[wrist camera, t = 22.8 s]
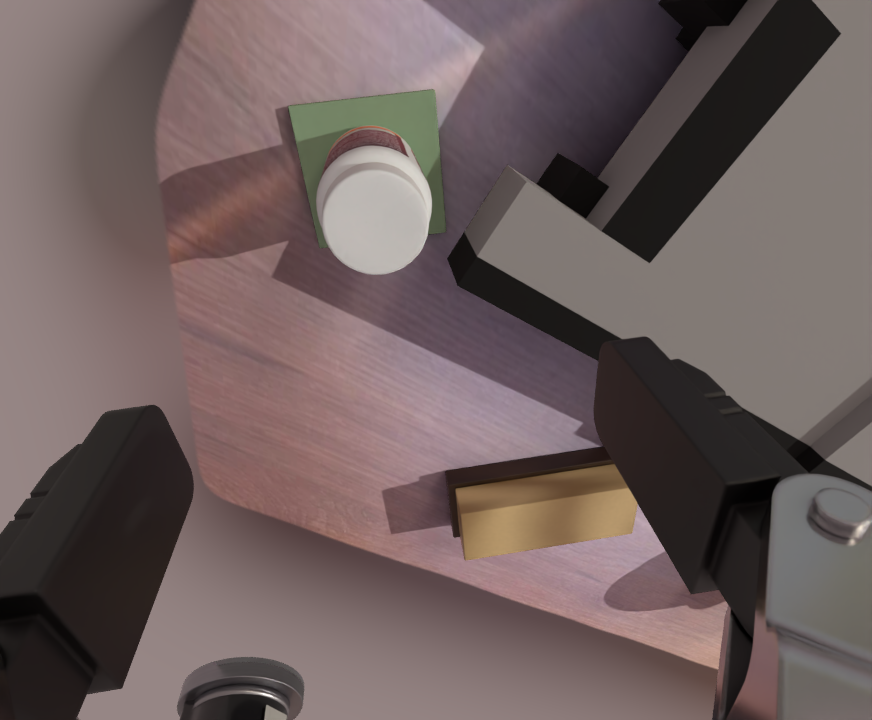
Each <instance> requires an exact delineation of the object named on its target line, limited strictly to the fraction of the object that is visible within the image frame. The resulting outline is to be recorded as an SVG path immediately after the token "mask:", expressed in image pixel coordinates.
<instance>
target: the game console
mask: <svg viewBox="0 0 872 720" xmlns="http://www.w3.org/2000/svg"><path fill="white" fill-rule="evenodd" d="M658 4H659V5H660V6H661V7H662V8H664V9H665V10H666V11H667V12H668V13H669V14H670V15H671V16H672V17H673V18H674V19H675V20H676V21H677V22H678V23H679V24H680V25H681V26H683V29H682V30H681V31H680V33H679V34H678V36H677V37H676V40H677V41H678V42H679V43H680V44H682V45H683V46H684V47H685V48H686V49H687V50H688V51H689V52H688V54H687V55H686V57H685V58H684V59H683V61H682V62H681V63H680V65H679V66H678V68H677V69H676V70H675V72H674V73H673V74H672V76H671V77H670V79H669V80H668V81H667V83H666V84H665V85H664V87H663V88H662V90H661V91H660V92H659V94H658V95H657V97H656V98H655V99H654V101H653V102H652V103H651V105H650V106H649V108H648V109H647V110H646V112H645V113H644V114H643V116H642V117H641V119H640V120H639V121H638V123H637V124H636V126H635V127H634V128H633V130H632V131H631V132H630V134H629V135H628V137H627V138H626V139H625V141H624V142H623V143H622V145H621V146H620V148H619V149H618V150H617V152H616V153H615V154H614V156H613V157H612V159H611V160H610V161H609V163H608V164H607V166H606V167H605V168H604V170H603V171H602V172H601V174H600V175H599V177H598V178H596V177H595V176H594V175H592V174H591V173H589V172H588V171H587V170H585V169H584V168H582V167H581V166H579V165H577V164H576V163H574V162H572V161H571V160H569V159H567V158H566V157H564V156H562V155H560V154H559V153H557V155H556V156H555V158H554V159H553V161H552V162H551V164H550V165H549V167H548V168H547V170H546V171H545V172H544V174H543V175H542V177H541V178H540V180H539V181H538V183H537V184H535V183H534V182H532V181H531V180H530V179H528V178H527V177H525V176H524V175H522V174H521V173H519V172H518V171H516V170H515V169H513V168H512V167H510V166H509V165H507V166H506V167H505V169H504V171H503V172H502V174H501V175H500V177H499V178H498V180H497V182H496V183H495V185H494V186H493V188H492V189H491V191H490V193H489V194H488V196H487V197H486V199H485V200H484V202H483V203H482V205H481V207H480V208H479V210H478V211H477V213H476V214H475V216H474V218H473V219H472V221H471V222H470V224H469V225H468V227H467V229H466V230H465V232H464V233H463V235H462V236H461V238H460V240H459V241H458V243H457V244H456V246H455V247H454V249H453V251H452V252H451V254H450V255H449V257H448V258H447V259H448V262H449V264H450V267H451V270H452V272H453V275H454V277H455V280H456V283H457V285H458V286H459V287H461V288H463V289H465V290H467V291H468V292H470V293H472V294H474V295H476V296H478V297H480V298H482V299H483V300H485V301H487V302H489V303H491V304H493V305H495V306H496V307H498V308H500V309H502V310H504V311H506V312H508V313H510V314H511V315H513V316H515V317H517V318H519V319H521V320H523V321H525V322H526V323H528V324H530V325H532V326H534V327H536V328H538V329H540V330H541V331H543V332H545V333H547V334H549V335H551V336H553V337H554V338H556V339H558V340H560V341H562V342H564V343H566V344H568V345H569V346H571V347H573V348H575V349H577V350H579V351H581V352H583V353H584V354H586V355H588V356H590V357H592V358H594V359H596V360H598V361H599V352H600V348H601V346H602V344H603V343H604V342H607V341H614V340H621V339H628V338H635V337H643V336H646V337H648V338H650V339H651V340H652V341H653V342H654V343H655V344H656V345H657V346H658V347H659V348H660V349H661V350H662V351H663V352H664V353H665V354H666V356H667V357H668V358H669V359H670V360H673V359H681V360H682V361H684V362H686V363H688V364H690V365H692V366H694V367H696V368H698V369H700V370H702V371H704V372H705V373H707V374H708V375H709V376H710V377H711V378H712V379H713V380H714V381H715V382H716V383H717V384H718V385H719V386H720V387H721V388H722V389H723V390H724V391H725V392H726V396H731V397H732V398H733V399H734V400H735V401H736V402H737V403H738V404H739V405H740V406H741V407H742V411H743V412H747V413H748V414H749V415H750V416H751V417H752V418H753V419H754V420H755V421H756V422H757V423H758V424H759V425H760V426H761V427H762V428H763V429H764V430H765V431H766V432H767V433H768V434H769V435H771V436H772V437H773V438H774V439H775V440H776V441H777V442H778V443H779V444H780V445H781V446H782V447H783V448H784V449H785V450H786V451H787V452H788V453H789V454H790V455H791V456H792V457H793V458H794V459H795V460H796V461H797V462H798V463H799V464H800V465H801V466H802V467H803V468H804V469H805V470H806V471H807V472H808V473H810V474H821V475H828V476H833V477H837V478H840V479H844V480H847V481H849V482H852V483H854V484H857V485H859V486H861V487H863V488H865V489H867V490H869V491H871V492H872V0H660V2H659V3H658Z"/></svg>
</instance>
